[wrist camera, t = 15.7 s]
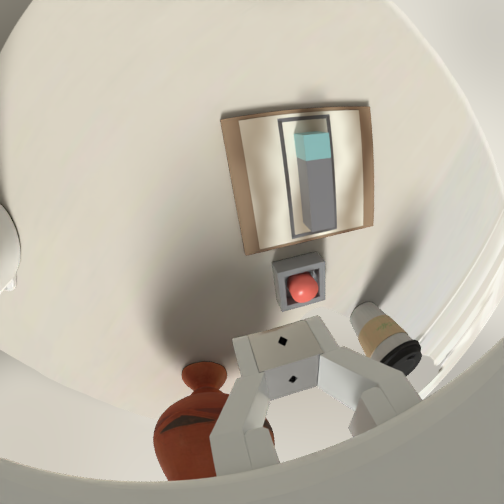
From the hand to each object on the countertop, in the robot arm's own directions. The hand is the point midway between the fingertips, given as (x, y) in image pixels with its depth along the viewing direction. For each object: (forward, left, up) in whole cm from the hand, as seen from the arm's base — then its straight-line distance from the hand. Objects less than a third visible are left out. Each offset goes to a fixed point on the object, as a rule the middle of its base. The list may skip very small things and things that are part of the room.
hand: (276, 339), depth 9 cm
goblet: (-10, -35, -27) cm, 46 cm away
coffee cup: (+22, -30, -27) cm, 46 cm away
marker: (+12, -2, -26) cm, 28 cm away
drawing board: (+12, -2, -27) cm, 29 cm away
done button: (+9, -17, -25) cm, 32 cm away
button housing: (+9, -17, -27) cm, 33 cm away
